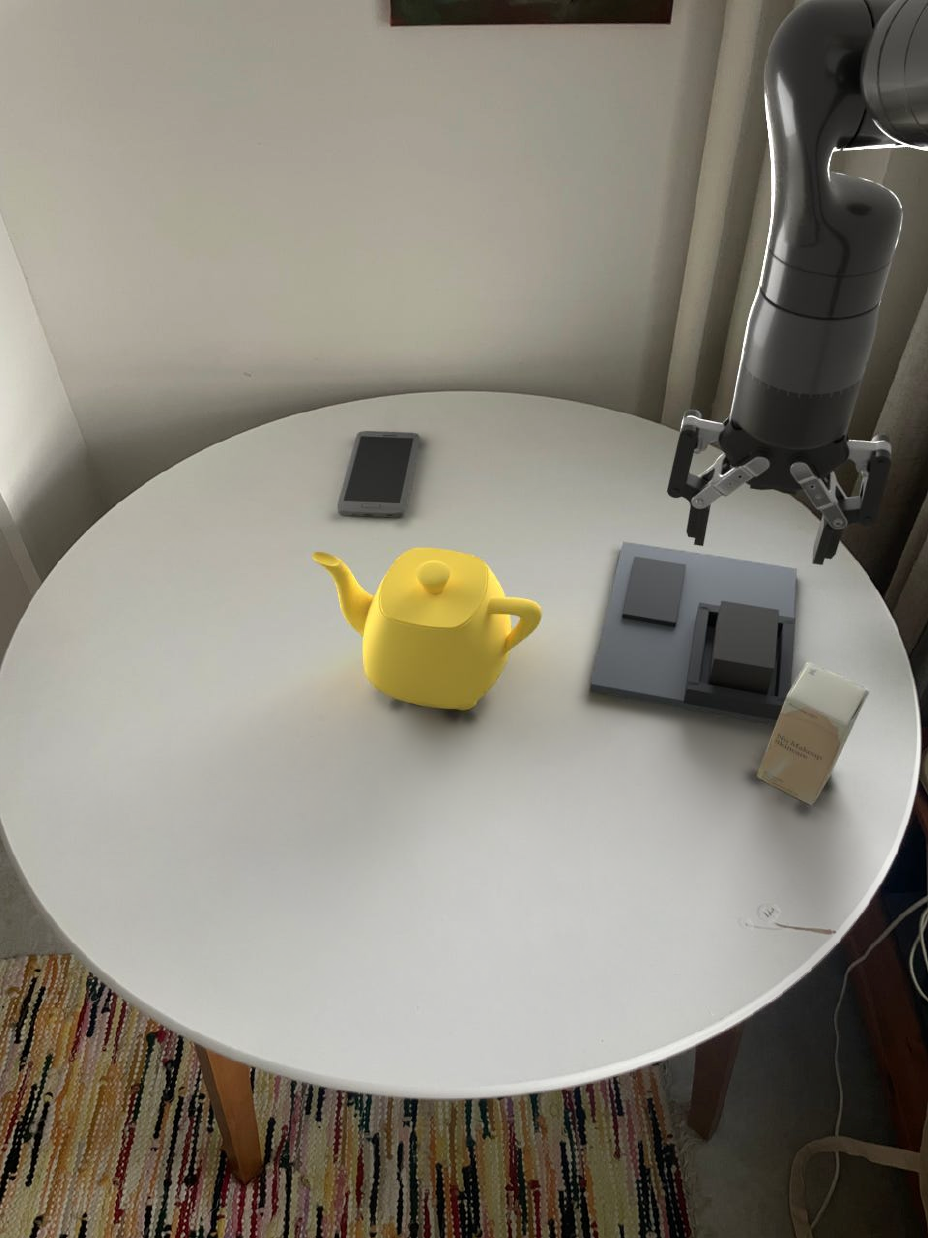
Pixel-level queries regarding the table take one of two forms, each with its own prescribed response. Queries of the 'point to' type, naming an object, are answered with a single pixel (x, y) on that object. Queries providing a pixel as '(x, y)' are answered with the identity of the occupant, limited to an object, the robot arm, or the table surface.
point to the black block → (744, 647)
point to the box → (811, 732)
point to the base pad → (688, 629)
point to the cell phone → (379, 474)
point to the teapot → (433, 626)
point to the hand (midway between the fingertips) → (758, 547)
